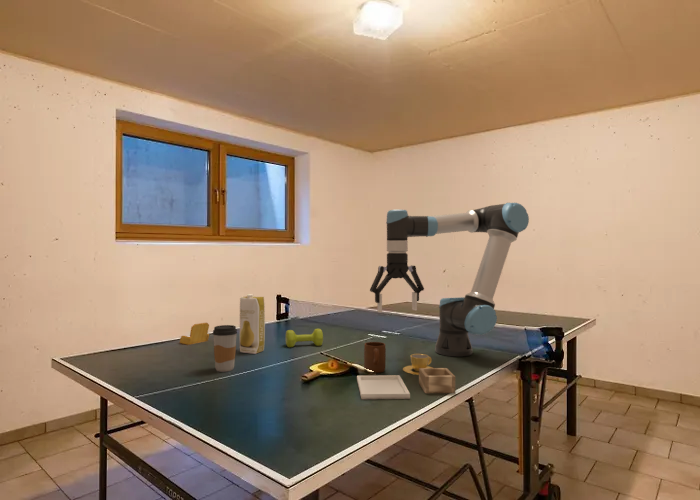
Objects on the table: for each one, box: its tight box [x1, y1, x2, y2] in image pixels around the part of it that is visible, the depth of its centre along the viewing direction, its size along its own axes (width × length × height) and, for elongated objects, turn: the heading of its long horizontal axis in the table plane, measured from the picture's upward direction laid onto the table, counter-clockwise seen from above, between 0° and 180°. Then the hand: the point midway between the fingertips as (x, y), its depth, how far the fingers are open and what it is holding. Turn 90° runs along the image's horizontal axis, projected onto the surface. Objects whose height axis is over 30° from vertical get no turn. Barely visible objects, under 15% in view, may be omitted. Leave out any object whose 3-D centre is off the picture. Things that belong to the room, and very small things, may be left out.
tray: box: [356, 374, 411, 400], centre depth 131 cm, size 14×18×2 cm
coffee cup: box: [212, 324, 238, 373], centre depth 151 cm, size 8×8×15 cm
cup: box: [402, 353, 434, 376], centre depth 152 cm, size 12×12×5 cm
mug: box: [363, 341, 387, 374], centre depth 149 cm, size 12×8×9 cm, turn 2°
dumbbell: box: [285, 328, 324, 348], centre depth 190 cm, size 16×8×7 cm, turn 105°
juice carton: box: [239, 293, 266, 355], centre depth 178 cm, size 9×8×24 cm
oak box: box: [418, 367, 456, 394], centre depth 132 cm, size 9×9×5 cm
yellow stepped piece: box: [179, 322, 210, 346], centre depth 195 cm, size 10×10×9 cm
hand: (397, 311), depth 155 cm, fingers open, 13 cm apart
